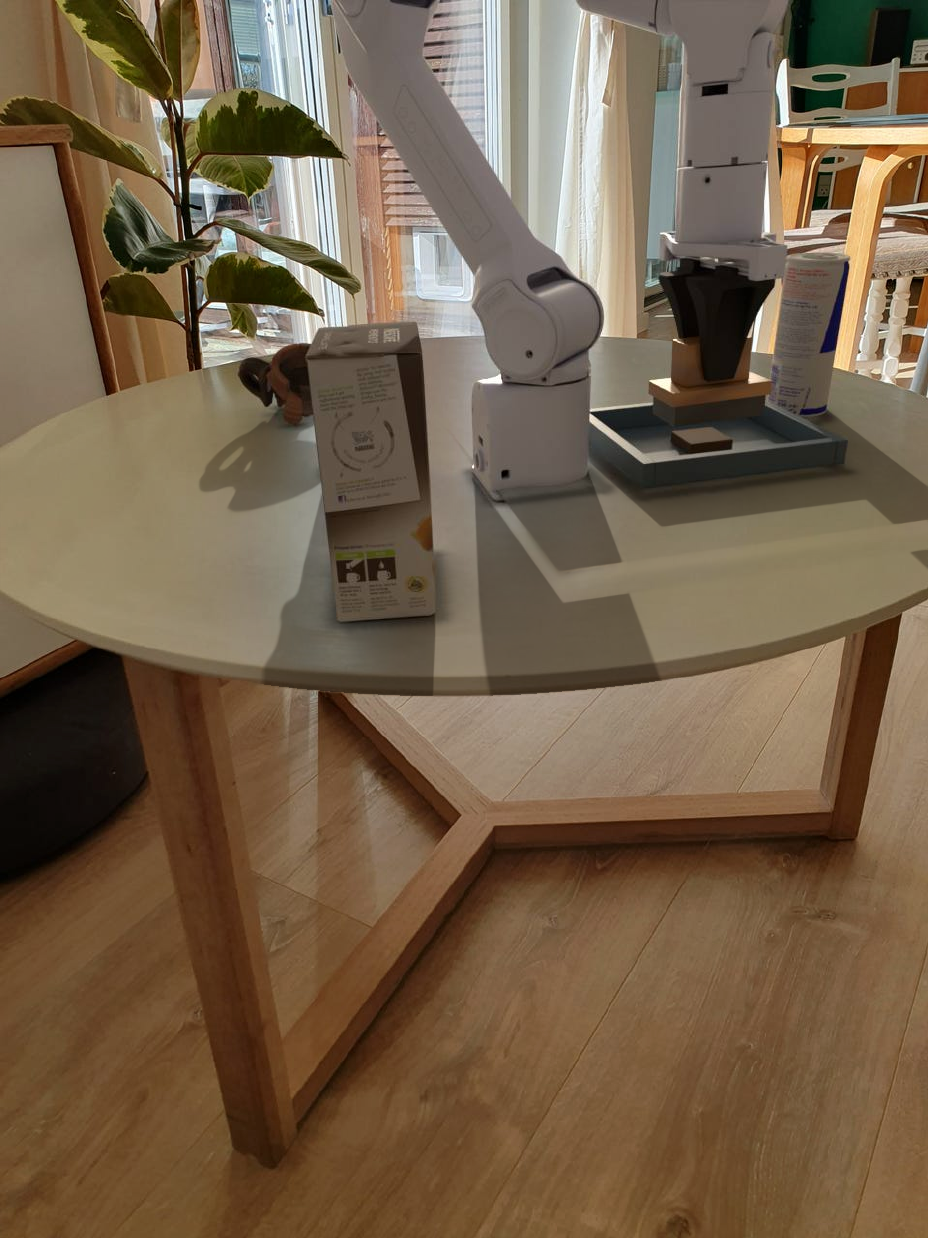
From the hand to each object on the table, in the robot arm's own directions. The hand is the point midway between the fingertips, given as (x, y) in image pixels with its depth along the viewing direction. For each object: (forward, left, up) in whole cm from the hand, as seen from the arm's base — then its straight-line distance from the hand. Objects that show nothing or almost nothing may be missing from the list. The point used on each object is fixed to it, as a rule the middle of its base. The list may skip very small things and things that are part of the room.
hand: (709, 374), depth 64 cm
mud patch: (+5, +10, -9) cm, 15 cm away
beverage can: (+19, +18, -10) cm, 28 cm away
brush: (0, 0, -3) cm, 3 cm away
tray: (+5, +10, -10) cm, 15 cm away
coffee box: (-26, -7, -10) cm, 29 cm away
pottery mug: (-29, +37, -10) cm, 48 cm away
